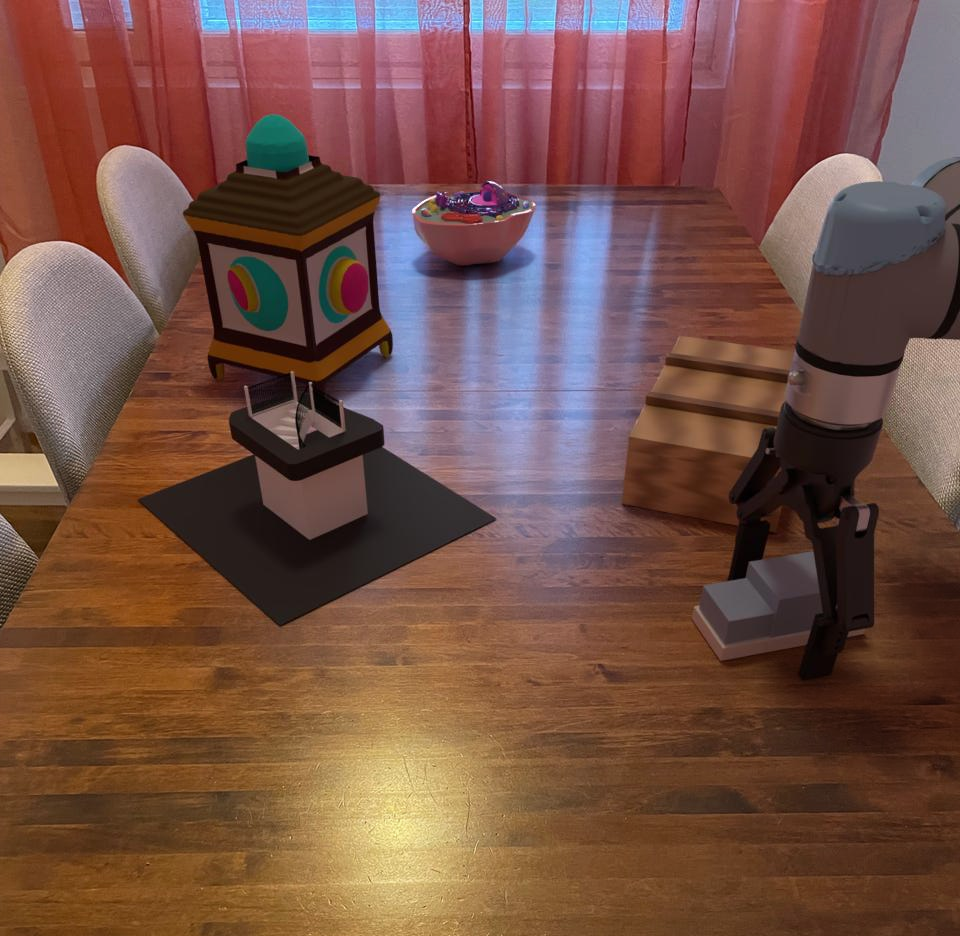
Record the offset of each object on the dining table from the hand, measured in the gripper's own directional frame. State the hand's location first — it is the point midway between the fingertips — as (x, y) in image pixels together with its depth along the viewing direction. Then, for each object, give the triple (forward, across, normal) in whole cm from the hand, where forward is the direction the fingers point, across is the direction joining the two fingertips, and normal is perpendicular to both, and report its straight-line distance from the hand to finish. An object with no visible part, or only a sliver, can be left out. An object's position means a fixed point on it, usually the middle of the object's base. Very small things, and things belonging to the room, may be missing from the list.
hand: (776, 625), depth 88 cm
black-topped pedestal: (+1, -30, -37) cm, 48 cm away
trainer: (0, 0, 0) cm, 0 cm away
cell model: (+1, -97, -2) cm, 97 cm away
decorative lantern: (+1, -64, -34) cm, 73 cm away
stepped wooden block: (0, -29, +8) cm, 30 cm away
